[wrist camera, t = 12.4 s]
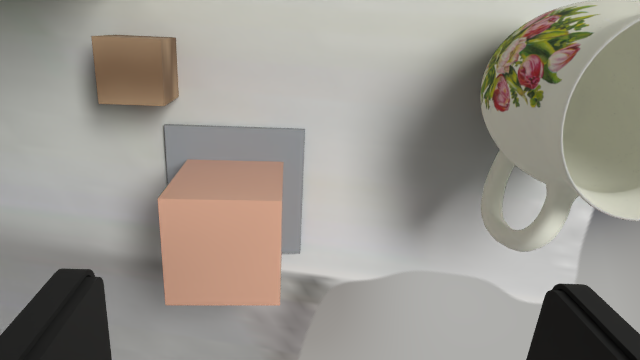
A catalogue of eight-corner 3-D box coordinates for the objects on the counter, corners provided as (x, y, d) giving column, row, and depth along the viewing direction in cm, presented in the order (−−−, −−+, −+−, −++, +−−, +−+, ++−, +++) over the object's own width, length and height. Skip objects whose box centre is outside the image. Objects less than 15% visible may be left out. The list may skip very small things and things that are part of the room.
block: (115, 34, 31) (91, 36, 27) (175, 37, 31) (160, 39, 28) (120, 94, 32) (98, 103, 28) (178, 96, 33) (164, 106, 29)
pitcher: (398, 169, 35) (461, 254, 22) (533, -63, 31) (712, -126, 18) (513, 225, 37) (631, 333, 24) (655, 17, 33) (895, 13, 20)
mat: (165, 124, 33) (164, 125, 33) (304, 128, 34) (304, 130, 33) (173, 249, 36) (171, 251, 36) (300, 251, 37) (300, 253, 37)
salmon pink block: (187, 159, 34) (157, 198, 26) (283, 161, 34) (281, 200, 26) (191, 245, 36) (165, 305, 28) (282, 246, 36) (279, 305, 29)
